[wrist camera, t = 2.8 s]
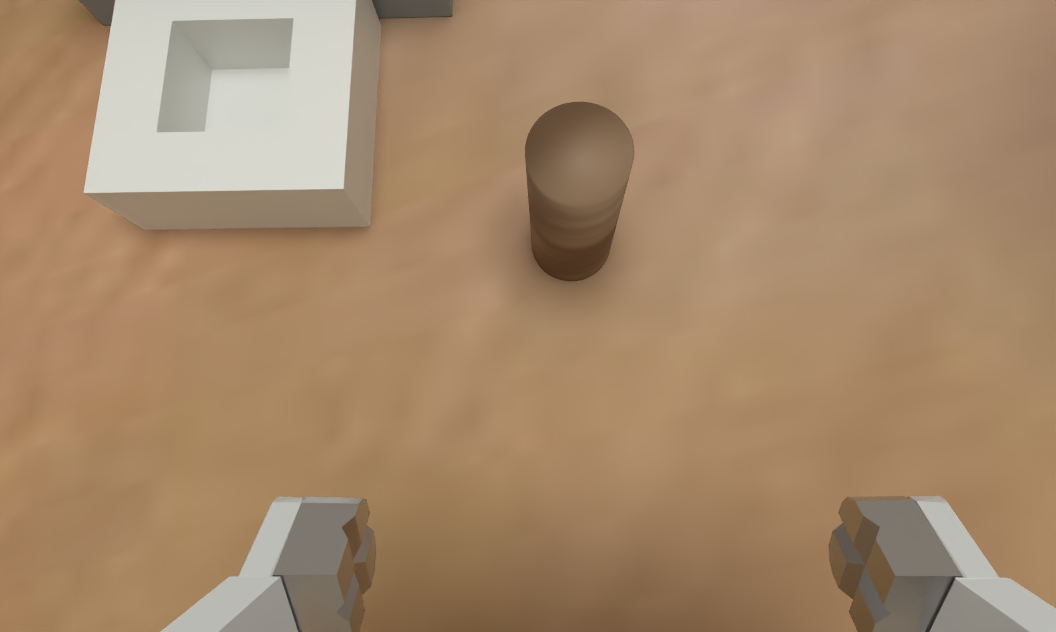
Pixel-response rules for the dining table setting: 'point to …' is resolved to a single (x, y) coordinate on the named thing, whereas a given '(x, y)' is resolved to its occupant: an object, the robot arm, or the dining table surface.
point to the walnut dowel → (576, 186)
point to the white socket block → (238, 114)
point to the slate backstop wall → (387, 3)
